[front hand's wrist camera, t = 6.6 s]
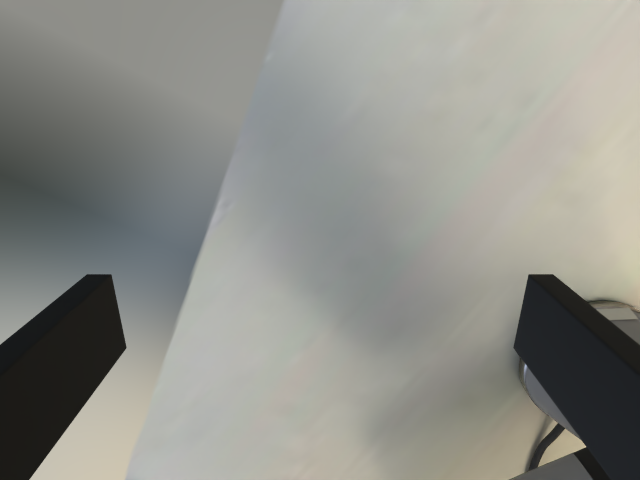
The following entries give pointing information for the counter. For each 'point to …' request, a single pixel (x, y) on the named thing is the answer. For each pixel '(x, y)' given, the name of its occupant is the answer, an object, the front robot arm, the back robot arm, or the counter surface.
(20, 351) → the front robot arm
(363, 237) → the counter surface
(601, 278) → the counter surface
